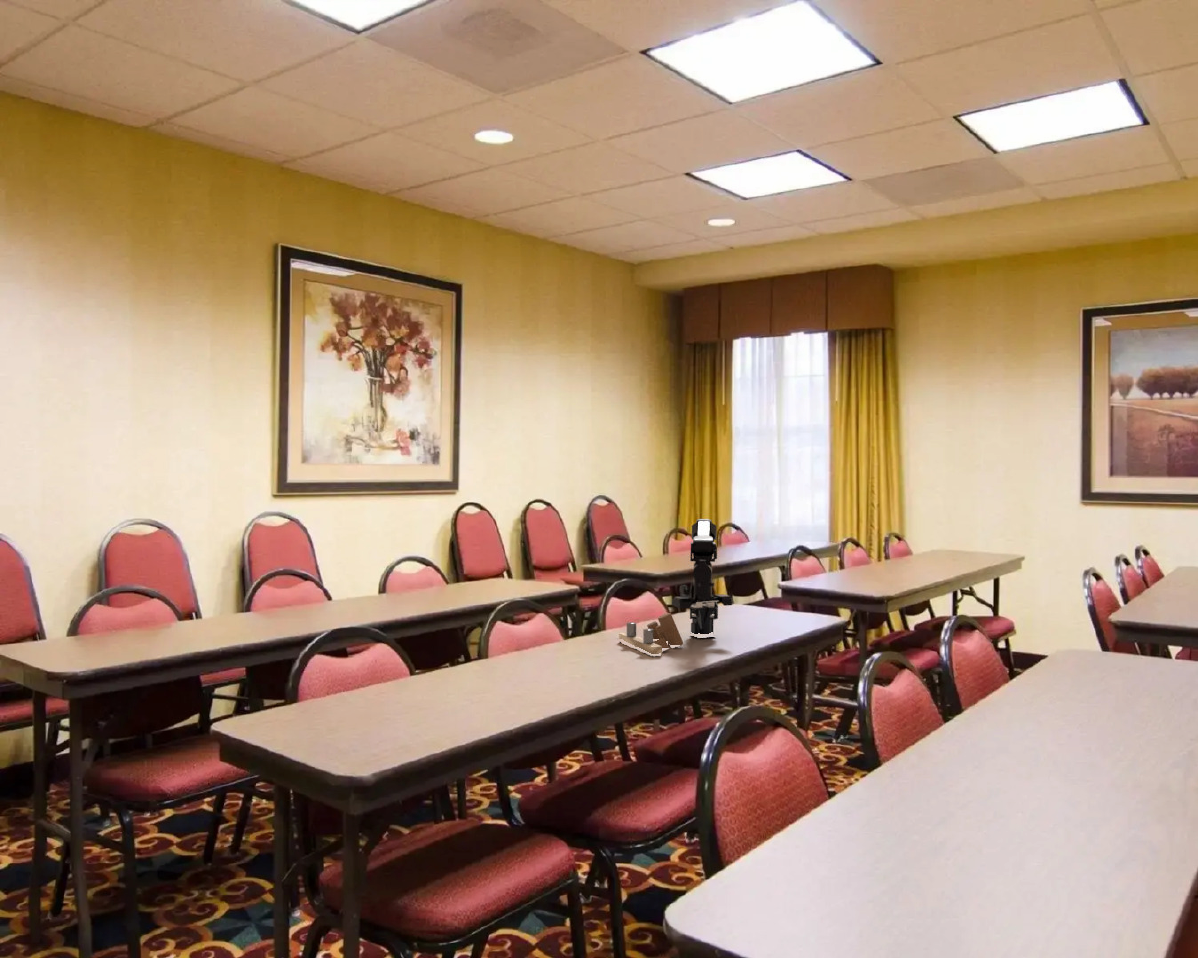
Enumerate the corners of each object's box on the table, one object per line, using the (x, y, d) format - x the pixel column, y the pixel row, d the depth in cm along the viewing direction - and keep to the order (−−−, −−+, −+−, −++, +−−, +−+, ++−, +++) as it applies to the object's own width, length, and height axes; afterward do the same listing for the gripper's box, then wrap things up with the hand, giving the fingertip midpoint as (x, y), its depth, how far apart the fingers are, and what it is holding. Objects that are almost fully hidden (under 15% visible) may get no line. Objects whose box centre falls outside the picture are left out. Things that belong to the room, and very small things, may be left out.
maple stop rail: (627, 641, 293) (627, 632, 293) (661, 656, 271) (661, 646, 271) (619, 642, 292) (619, 633, 292) (652, 657, 270) (652, 646, 270)
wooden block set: (651, 649, 294) (638, 619, 294) (675, 638, 295) (662, 608, 295) (662, 658, 276) (649, 627, 276) (688, 646, 278) (675, 615, 277)
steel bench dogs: (633, 644, 289) (633, 622, 289) (654, 653, 275) (655, 630, 275) (624, 645, 288) (625, 622, 288) (645, 654, 274) (646, 630, 274)
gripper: (715, 574, 301) (715, 622, 301) (664, 577, 293) (663, 626, 294) (733, 578, 290) (733, 628, 291) (680, 581, 283) (680, 632, 283)
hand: (702, 628), depth 290 cm, fingers closed
